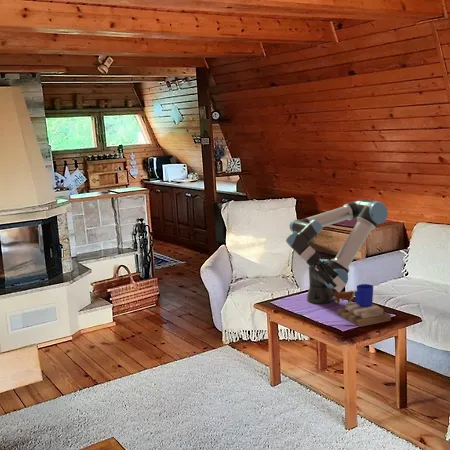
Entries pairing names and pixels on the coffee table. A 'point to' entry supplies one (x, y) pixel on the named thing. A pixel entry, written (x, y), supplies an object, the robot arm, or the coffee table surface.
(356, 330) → the coffee table surface
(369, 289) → the mug
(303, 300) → the coffee table surface
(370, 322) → the plinth
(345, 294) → the bull figurine
